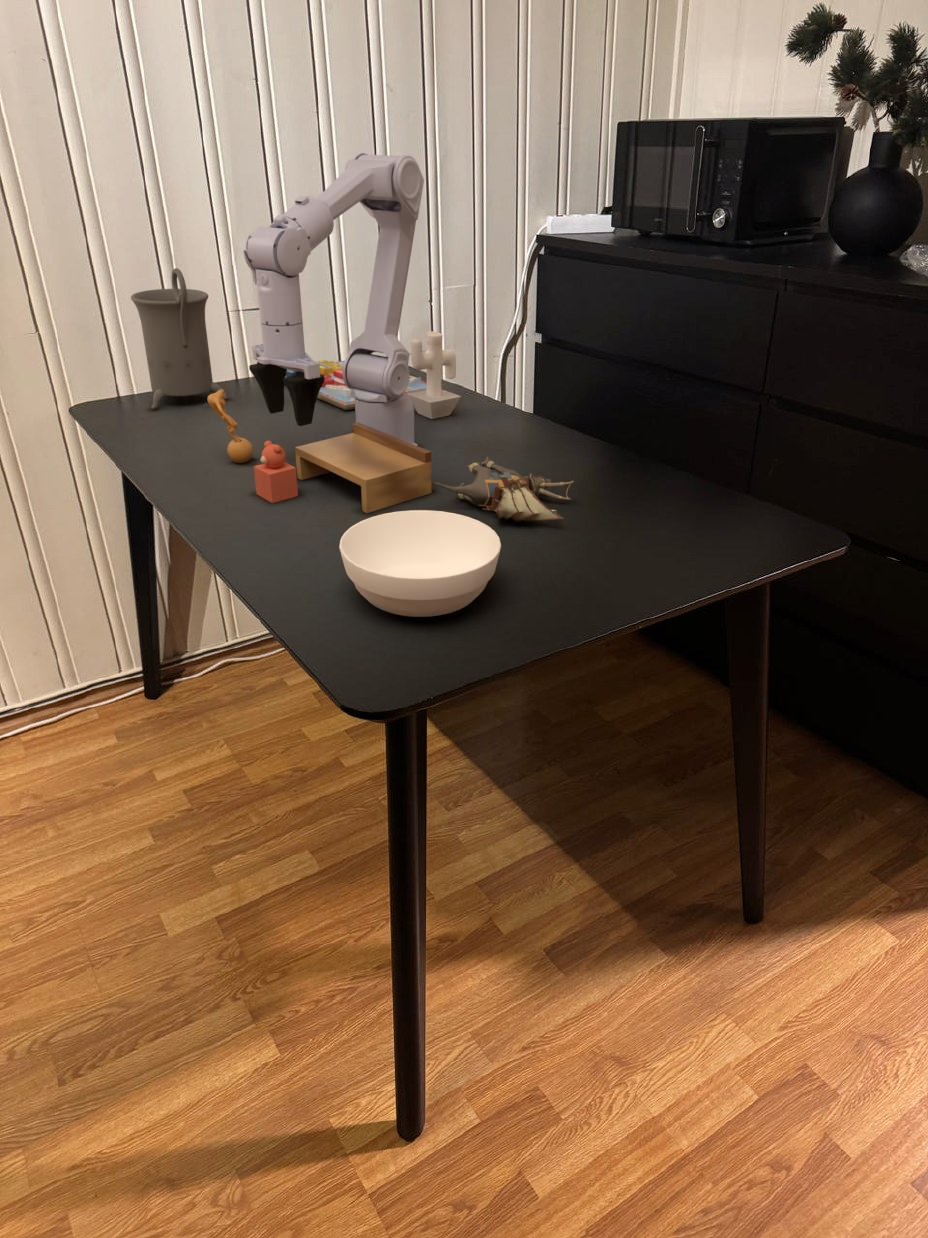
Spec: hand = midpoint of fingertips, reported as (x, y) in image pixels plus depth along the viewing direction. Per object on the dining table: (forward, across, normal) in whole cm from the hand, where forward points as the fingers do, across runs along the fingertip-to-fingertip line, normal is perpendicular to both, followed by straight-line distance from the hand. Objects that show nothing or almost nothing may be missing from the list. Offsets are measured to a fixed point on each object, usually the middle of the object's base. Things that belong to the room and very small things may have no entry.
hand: (290, 418), depth 127 cm
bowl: (+10, +40, -8) cm, 42 cm away
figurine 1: (+10, -14, -2) cm, 18 cm away
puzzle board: (+11, -40, +40) cm, 57 cm away
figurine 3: (+10, +29, +18) cm, 35 cm away
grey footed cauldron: (+11, -51, +8) cm, 53 cm away
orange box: (+10, +2, -4) cm, 11 cm away
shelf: (+10, +7, +8) cm, 15 cm away
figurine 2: (+11, -14, +40) cm, 43 cm away
